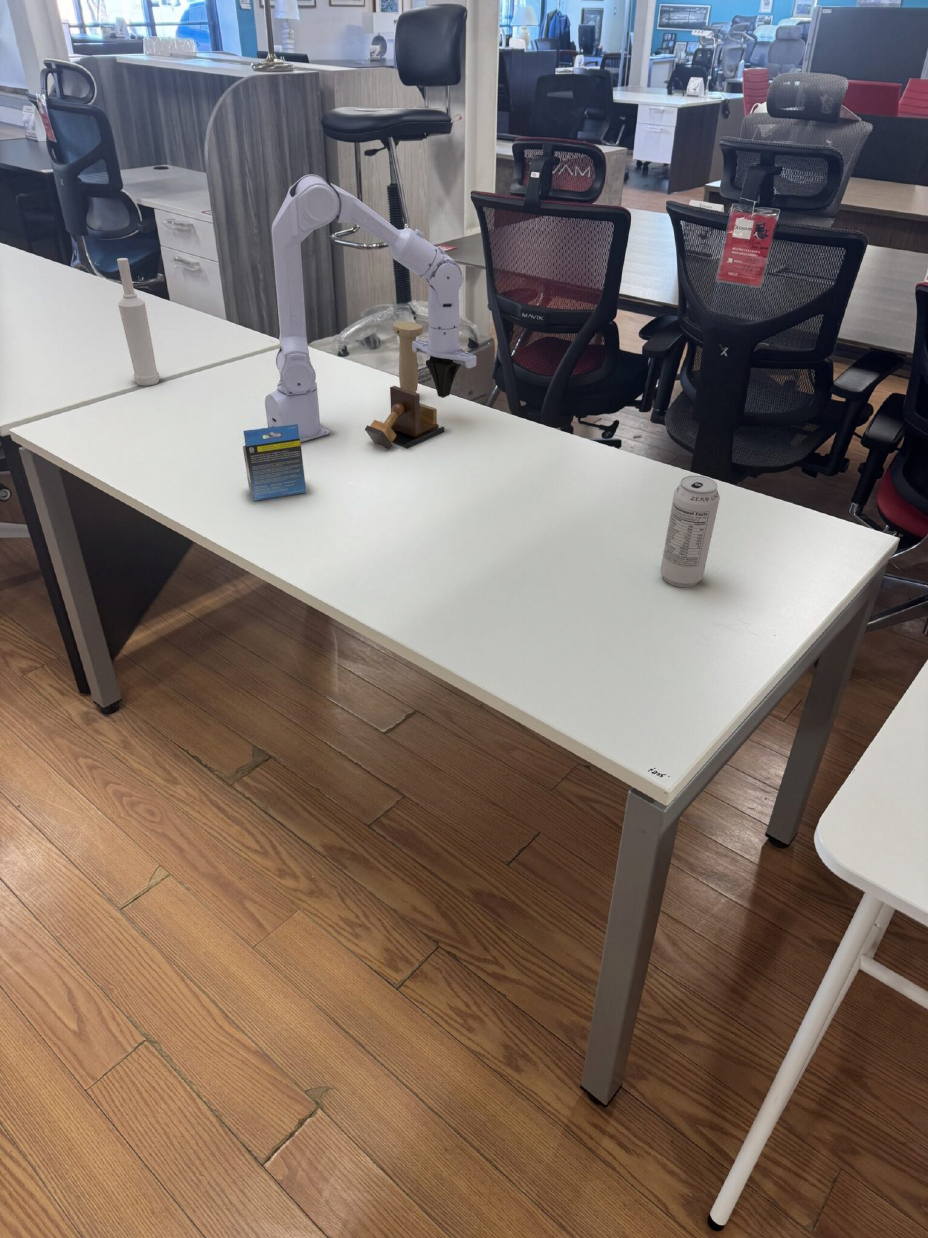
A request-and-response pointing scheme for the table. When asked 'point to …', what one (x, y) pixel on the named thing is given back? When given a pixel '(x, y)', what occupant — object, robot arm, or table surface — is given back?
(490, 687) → the table surface
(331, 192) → the robot arm
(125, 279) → the bottle
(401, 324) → the handle
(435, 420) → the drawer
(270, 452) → the blue product box
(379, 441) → the stamp
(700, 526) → the energy drink can
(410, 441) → the track
